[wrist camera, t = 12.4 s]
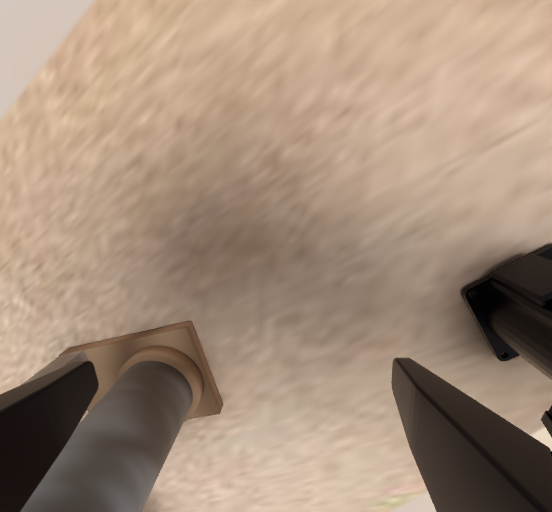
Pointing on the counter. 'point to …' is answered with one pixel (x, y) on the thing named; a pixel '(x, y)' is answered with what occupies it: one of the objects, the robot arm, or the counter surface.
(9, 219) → the counter surface
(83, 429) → the ball
